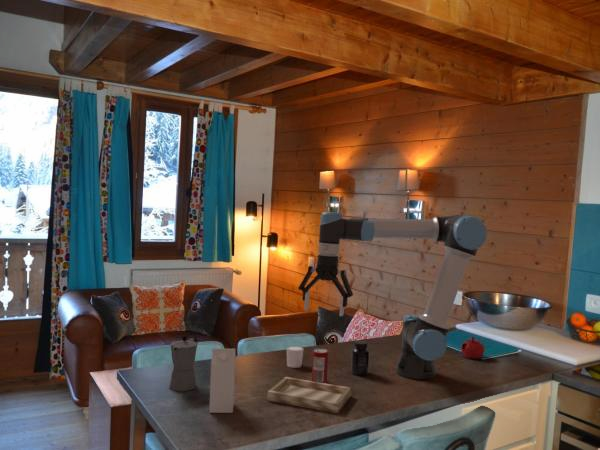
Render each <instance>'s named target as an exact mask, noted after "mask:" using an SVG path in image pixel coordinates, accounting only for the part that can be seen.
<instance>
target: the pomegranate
mask: <svg viewBox="0 0 600 450" xmlns="http://www.w3.org/2000/svg"><path fill="white" fill-rule="evenodd" d="M460 350H461V353H462V355H463V357H464V358H467V359H470V360H479V359H480V358H482V357H483V356H484V354H485V346H484V344H483V343H482V342H481V339H475V336H471V338H470V337H469V338H467V339H465V340H464V342H463V343H462V344H461V345H460Z"/></svg>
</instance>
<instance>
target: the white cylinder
mask: <svg viewBox="0 0 600 450" xmlns="http://www.w3.org/2000/svg"><path fill="white" fill-rule="evenodd" d="M285 348H286V366H287V367H289V368H293V369H295V368H296V369H297V368H301V367H302V364H303V355H304V347H302V346H298V345H293V346H292V345H290V346H287V347H285Z"/></svg>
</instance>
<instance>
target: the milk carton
mask: <svg viewBox="0 0 600 450" xmlns="http://www.w3.org/2000/svg"><path fill="white" fill-rule="evenodd" d="M211 351H212V353H211V359H210V360H211V361H210V362H211V363H210V384H209V387H210V388H209V409H208V410H209V411H208V413H210V414H211V413H213V414H216V413H217V414H218V413H219V414H220V413H221V414H233V412H234V406H235V405H234V404H235V383H236V382H235V381H236V379H235V377H236V348H212V349H211Z"/></svg>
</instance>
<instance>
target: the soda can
mask: <svg viewBox="0 0 600 450" xmlns="http://www.w3.org/2000/svg"><path fill="white" fill-rule="evenodd" d="M328 365H329V353H328V350H327V349H325V348H315V349H313V352H312V365H311V366H312V367H311V369H312V370H311V381H314V382H320V383H326V384H327V382H328V370H329V369H328V367H329V366H328Z"/></svg>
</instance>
